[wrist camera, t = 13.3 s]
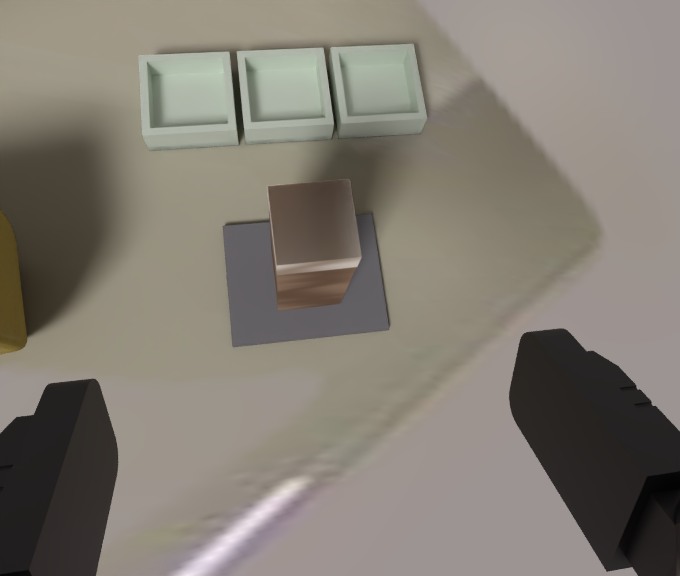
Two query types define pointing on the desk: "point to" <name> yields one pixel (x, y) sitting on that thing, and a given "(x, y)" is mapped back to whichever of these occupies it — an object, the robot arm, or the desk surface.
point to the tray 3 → (376, 90)
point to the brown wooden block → (312, 242)
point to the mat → (306, 323)
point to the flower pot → (10, 292)
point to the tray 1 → (187, 100)
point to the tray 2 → (285, 95)
